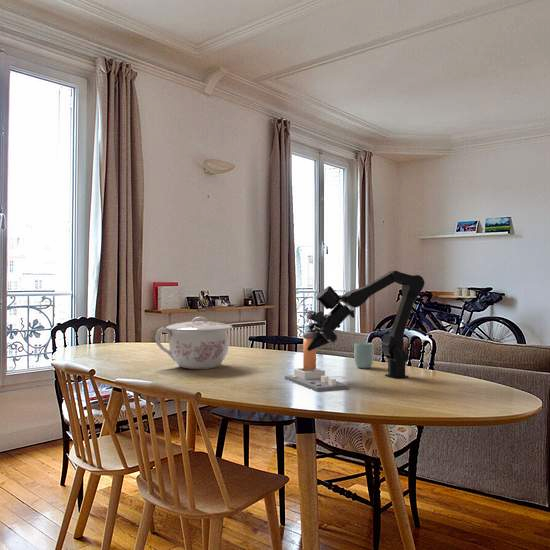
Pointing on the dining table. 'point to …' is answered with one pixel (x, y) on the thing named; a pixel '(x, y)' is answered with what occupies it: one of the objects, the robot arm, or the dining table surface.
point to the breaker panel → (315, 380)
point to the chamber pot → (196, 343)
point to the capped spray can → (309, 356)
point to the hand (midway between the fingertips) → (306, 349)
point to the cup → (363, 354)
